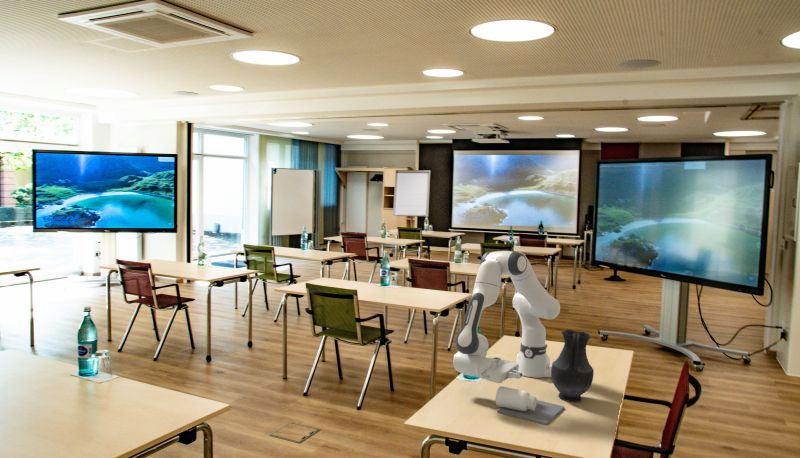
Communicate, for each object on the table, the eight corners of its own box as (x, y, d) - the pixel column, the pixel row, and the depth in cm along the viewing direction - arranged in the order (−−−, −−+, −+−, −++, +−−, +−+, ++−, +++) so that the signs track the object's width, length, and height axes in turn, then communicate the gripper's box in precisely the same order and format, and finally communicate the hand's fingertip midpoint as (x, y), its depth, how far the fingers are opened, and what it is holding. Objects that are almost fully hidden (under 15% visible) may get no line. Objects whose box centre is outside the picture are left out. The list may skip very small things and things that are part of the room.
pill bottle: (502, 400, 245) (537, 408, 237) (495, 409, 238) (531, 417, 231) (501, 382, 243) (537, 389, 236) (494, 391, 236) (531, 399, 229)
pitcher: (590, 394, 261) (595, 327, 259) (592, 411, 241) (597, 338, 239) (550, 389, 266) (554, 322, 264) (548, 404, 246) (553, 333, 244)
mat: (517, 397, 254) (517, 395, 254) (564, 408, 243) (564, 406, 243) (497, 412, 235) (497, 410, 235) (546, 425, 224) (546, 423, 224)
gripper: (479, 367, 239) (511, 374, 232) (499, 356, 256) (530, 362, 249) (478, 382, 240) (510, 390, 232) (498, 370, 257) (529, 377, 250)
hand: (521, 375), depth 241 cm, fingers closed
